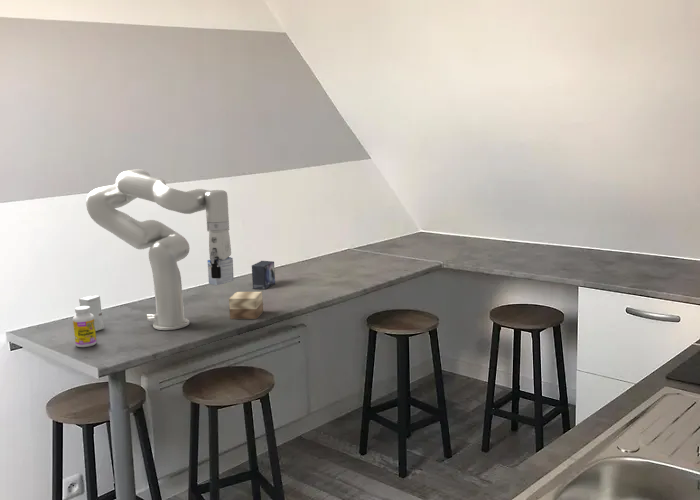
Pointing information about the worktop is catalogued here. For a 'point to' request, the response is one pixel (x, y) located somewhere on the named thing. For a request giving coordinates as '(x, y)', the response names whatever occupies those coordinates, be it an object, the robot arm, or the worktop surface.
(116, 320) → the worktop surface
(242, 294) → the birch slab
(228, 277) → the medicine box
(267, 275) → the small box
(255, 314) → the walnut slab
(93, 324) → the supplement bottle
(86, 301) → the skincare box
